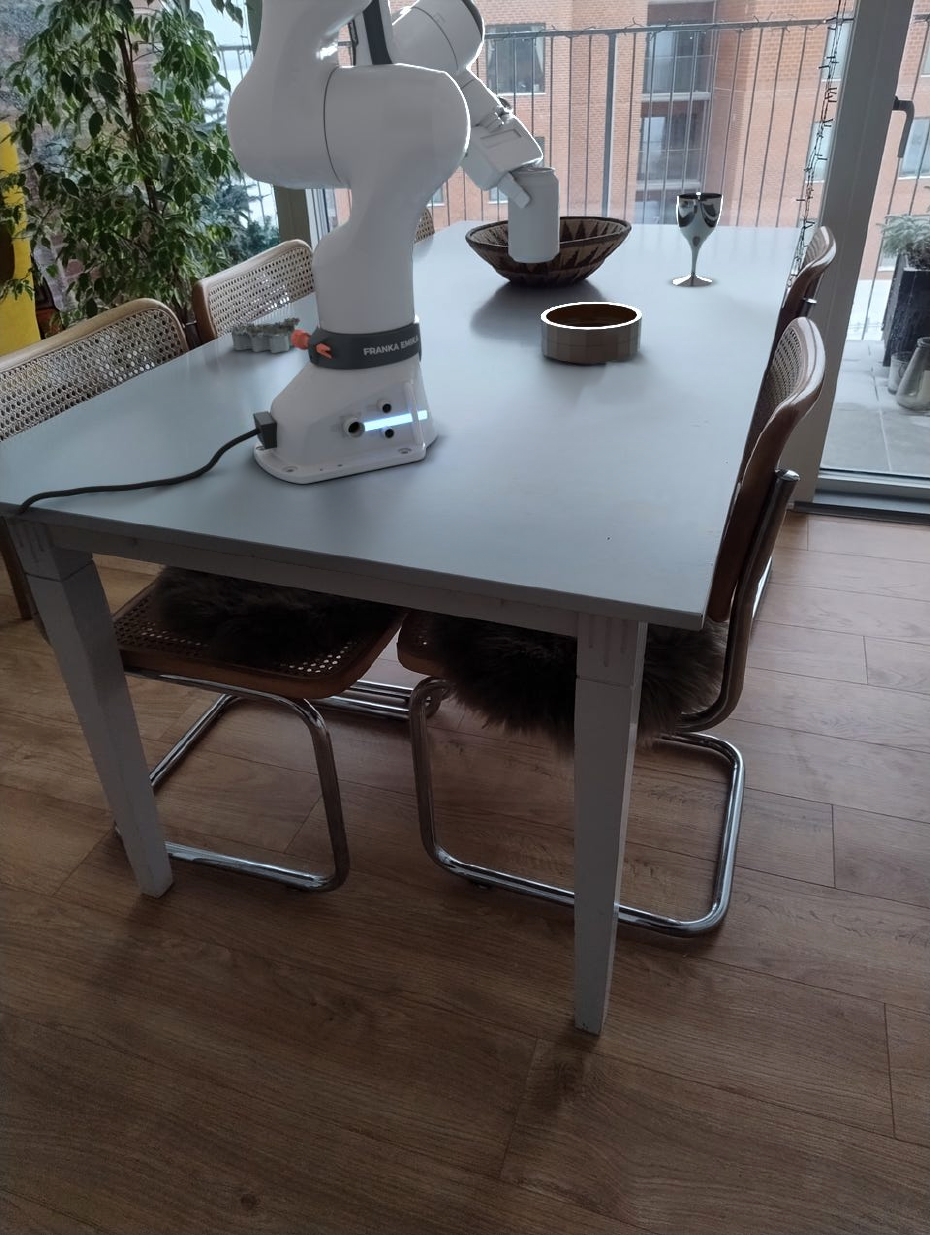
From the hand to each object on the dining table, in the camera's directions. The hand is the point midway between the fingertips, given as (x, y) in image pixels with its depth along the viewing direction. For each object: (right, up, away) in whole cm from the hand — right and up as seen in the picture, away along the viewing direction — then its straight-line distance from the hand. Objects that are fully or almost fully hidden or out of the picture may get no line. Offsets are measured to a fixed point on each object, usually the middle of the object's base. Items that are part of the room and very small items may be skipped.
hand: (537, 199), depth 124 cm
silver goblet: (+33, +4, +42) cm, 54 cm away
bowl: (+9, -19, +9) cm, 23 cm away
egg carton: (-43, -15, +20) cm, 50 cm away
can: (0, -7, +5) cm, 8 cm away
